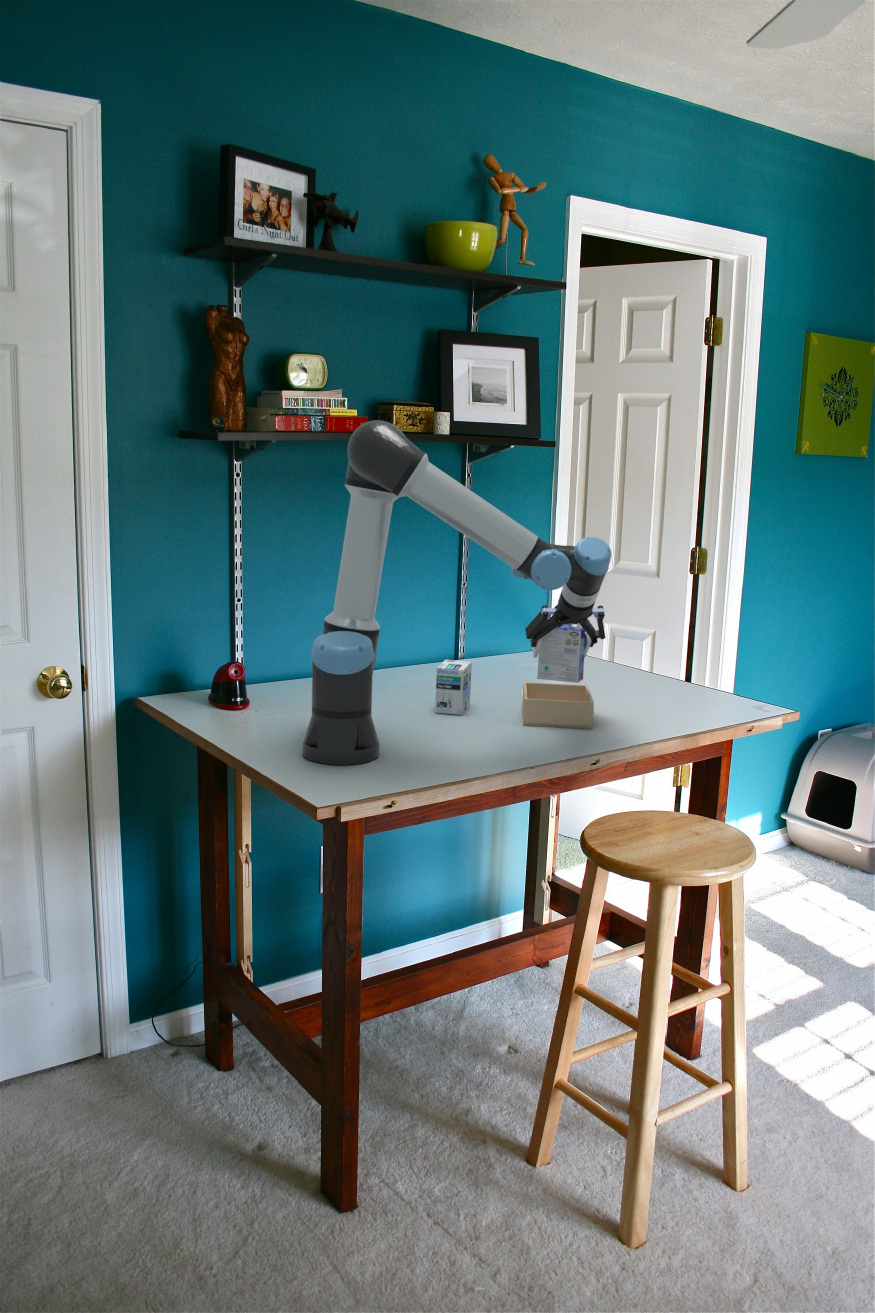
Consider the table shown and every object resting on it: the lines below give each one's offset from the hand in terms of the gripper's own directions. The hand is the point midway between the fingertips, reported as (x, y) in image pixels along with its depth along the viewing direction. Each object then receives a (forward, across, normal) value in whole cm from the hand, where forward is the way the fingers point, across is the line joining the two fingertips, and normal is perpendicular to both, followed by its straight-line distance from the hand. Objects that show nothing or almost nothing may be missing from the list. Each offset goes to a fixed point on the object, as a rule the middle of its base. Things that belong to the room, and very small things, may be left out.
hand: (558, 652), depth 229 cm
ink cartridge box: (+2, 0, -6) cm, 7 cm away
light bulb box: (+13, -24, -7) cm, 28 cm away
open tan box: (+16, +1, -5) cm, 17 cm away
